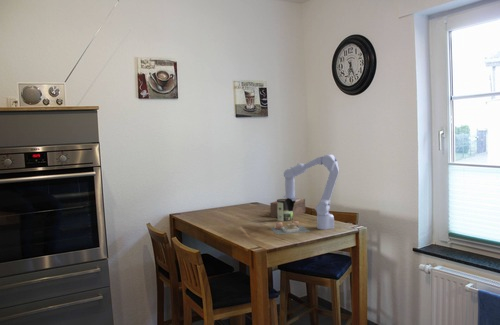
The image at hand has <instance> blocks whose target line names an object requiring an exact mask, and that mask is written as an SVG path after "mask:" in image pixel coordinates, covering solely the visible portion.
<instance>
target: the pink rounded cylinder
mask: <svg viewBox="0 0 500 325" xmlns="http://www.w3.org/2000/svg"><path fill="white" fill-rule="evenodd" d="M299 222H300V221H298V220H292V221H291V223H294V224H296V227H298V228H299V226H300V225H299V224H300V223H299Z"/></svg>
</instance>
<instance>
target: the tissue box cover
mask: <svg viewBox="0 0 500 325" xmlns="http://www.w3.org/2000/svg"><path fill="white" fill-rule="evenodd" d="M295 198H296V201H295V203H294V207H293V218H295V217H298V216H299V215H302V214H305V213H306V198H297V197H295ZM284 199H288V198H284ZM269 204H270V206H269V207H270V217H271V218H276V217H277V200H275V201H273V202H270V203H269Z"/></svg>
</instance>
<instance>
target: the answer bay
mask: <svg viewBox="0 0 500 325" xmlns="http://www.w3.org/2000/svg"><path fill="white" fill-rule="evenodd" d="M284 227H285V226H283V227H282V230H283V231H285V232H286V233H287V232H299V231H300V229H299V228H298V227H296V229H288V230H286V229H285V228H284Z"/></svg>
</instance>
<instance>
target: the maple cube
mask: <svg viewBox="0 0 500 325" xmlns="http://www.w3.org/2000/svg"><path fill="white" fill-rule="evenodd" d="M286 227H287V230H288V229H296V224H294V223H292V222H290V223H286Z"/></svg>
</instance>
